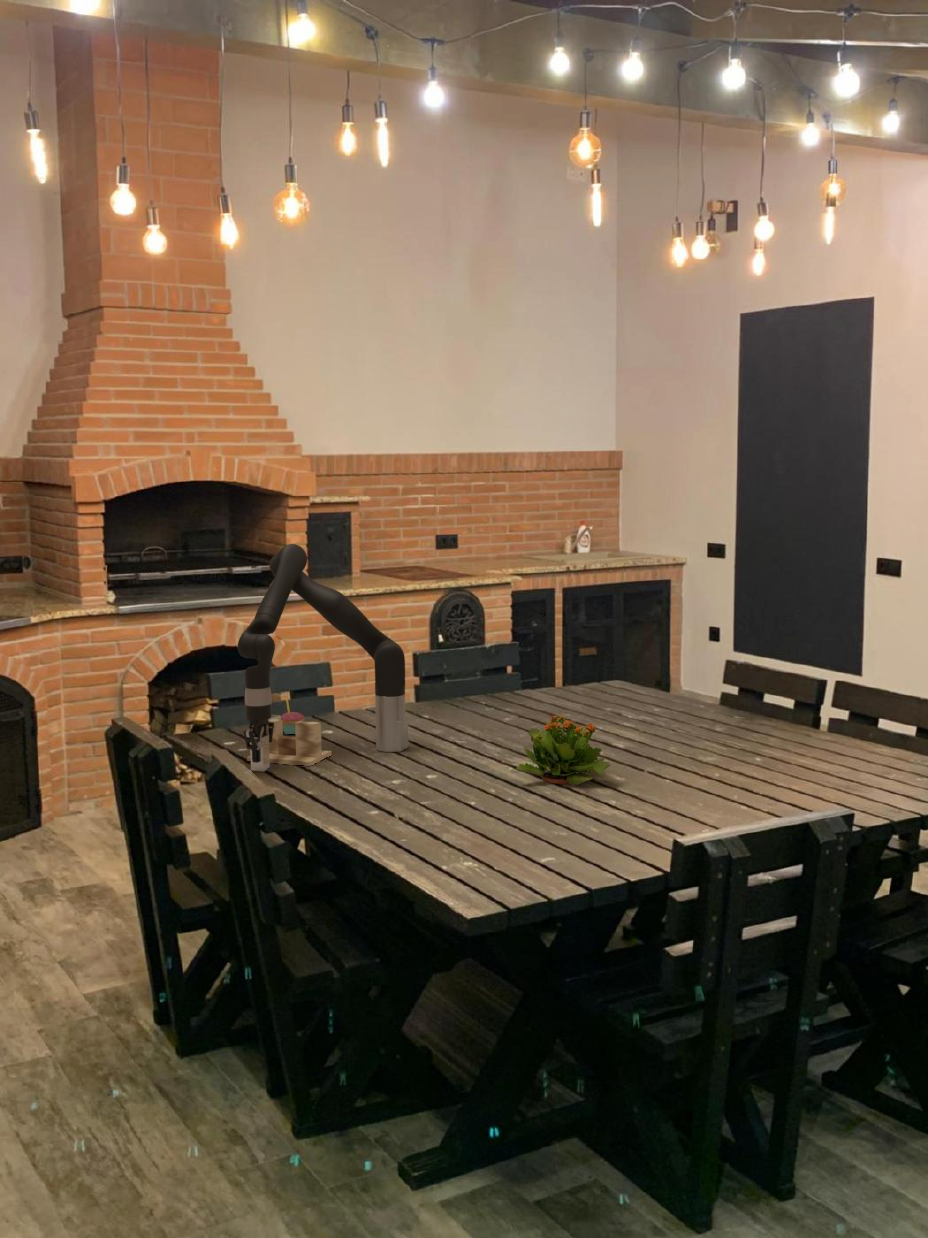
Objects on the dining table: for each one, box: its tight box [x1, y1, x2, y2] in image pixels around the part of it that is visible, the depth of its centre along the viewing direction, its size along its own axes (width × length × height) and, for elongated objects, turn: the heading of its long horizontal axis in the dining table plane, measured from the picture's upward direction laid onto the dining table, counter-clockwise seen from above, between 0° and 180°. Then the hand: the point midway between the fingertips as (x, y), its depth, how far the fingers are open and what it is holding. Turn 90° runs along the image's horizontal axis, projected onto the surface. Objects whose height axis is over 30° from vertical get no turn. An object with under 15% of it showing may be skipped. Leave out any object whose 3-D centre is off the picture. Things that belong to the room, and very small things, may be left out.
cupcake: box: [280, 696, 306, 735], centre depth 406 cm, size 9×8×12 cm
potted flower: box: [516, 715, 612, 787], centre depth 344 cm, size 25×24×18 cm
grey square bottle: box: [249, 735, 271, 773], centre depth 359 cm, size 4×4×13 cm
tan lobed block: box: [246, 714, 333, 766], centre depth 371 cm, size 21×14×12 cm, turn 69°
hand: (260, 760), depth 359 cm, fingers closed on grey square bottle, 4 cm apart
